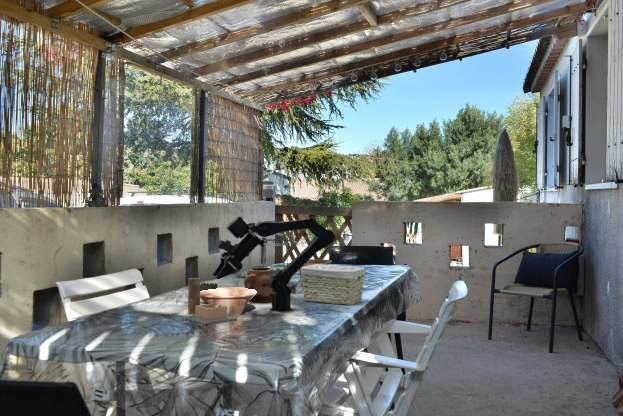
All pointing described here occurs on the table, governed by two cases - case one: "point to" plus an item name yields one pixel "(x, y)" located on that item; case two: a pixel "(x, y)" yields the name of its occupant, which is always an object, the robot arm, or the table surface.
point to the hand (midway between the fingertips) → (215, 277)
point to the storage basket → (332, 283)
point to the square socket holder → (210, 314)
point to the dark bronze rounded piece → (208, 286)
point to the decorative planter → (259, 284)
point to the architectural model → (241, 279)
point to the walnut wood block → (193, 294)
